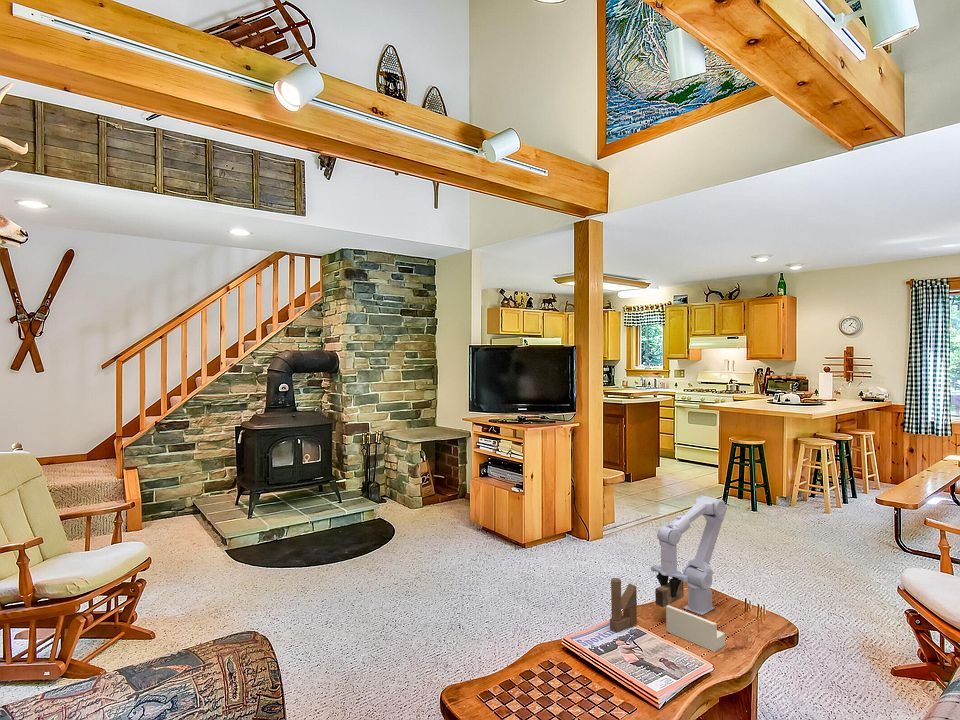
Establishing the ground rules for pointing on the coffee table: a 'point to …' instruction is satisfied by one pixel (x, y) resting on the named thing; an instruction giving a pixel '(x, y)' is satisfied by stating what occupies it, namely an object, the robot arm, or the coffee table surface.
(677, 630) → the stepped cream panel
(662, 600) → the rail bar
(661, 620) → the coffee table surface
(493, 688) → the coffee table surface
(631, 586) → the brown upright shaped block
